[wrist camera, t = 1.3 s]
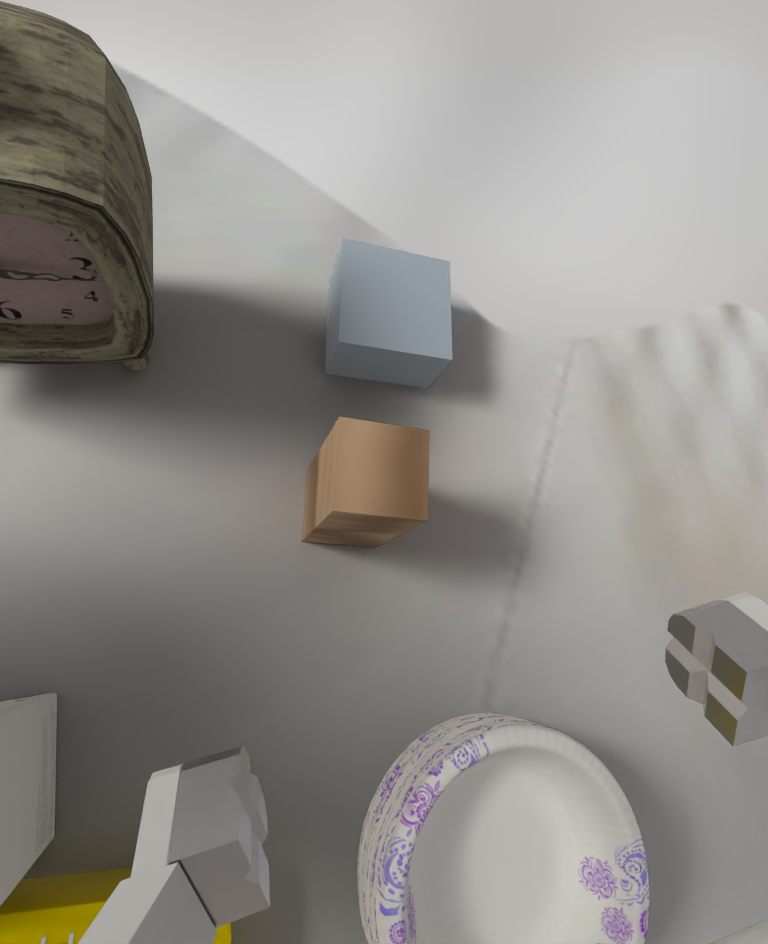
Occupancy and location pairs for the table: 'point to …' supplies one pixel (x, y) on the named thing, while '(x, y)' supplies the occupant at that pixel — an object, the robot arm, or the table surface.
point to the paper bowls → (501, 842)
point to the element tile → (63, 908)
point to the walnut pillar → (367, 484)
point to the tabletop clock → (70, 201)
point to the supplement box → (26, 784)
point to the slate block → (388, 315)
